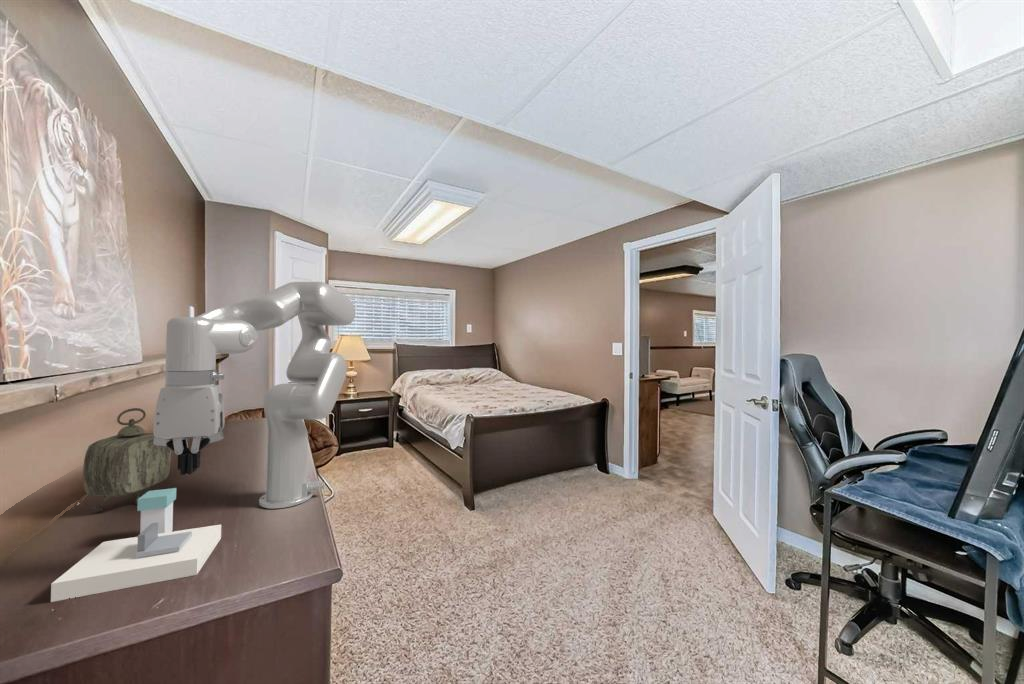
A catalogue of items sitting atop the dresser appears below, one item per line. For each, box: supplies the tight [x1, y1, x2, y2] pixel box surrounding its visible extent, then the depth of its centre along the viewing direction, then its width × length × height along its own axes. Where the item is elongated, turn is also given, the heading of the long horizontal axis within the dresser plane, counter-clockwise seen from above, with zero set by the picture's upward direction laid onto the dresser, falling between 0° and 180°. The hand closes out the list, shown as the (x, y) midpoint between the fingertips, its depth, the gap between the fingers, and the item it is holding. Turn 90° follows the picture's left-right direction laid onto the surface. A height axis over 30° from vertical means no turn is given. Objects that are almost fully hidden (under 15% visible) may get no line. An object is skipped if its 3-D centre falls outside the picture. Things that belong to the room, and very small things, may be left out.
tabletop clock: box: [82, 407, 172, 513], centre depth 98 cm, size 14×9×25 cm, turn 178°
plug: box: [136, 487, 177, 534], centre depth 81 cm, size 5×5×10 cm
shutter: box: [136, 522, 192, 558], centre depth 72 cm, size 6×6×4 cm
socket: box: [50, 524, 222, 603], centre depth 71 cm, size 19×14×3 cm
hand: (188, 472), depth 73 cm, fingers closed
